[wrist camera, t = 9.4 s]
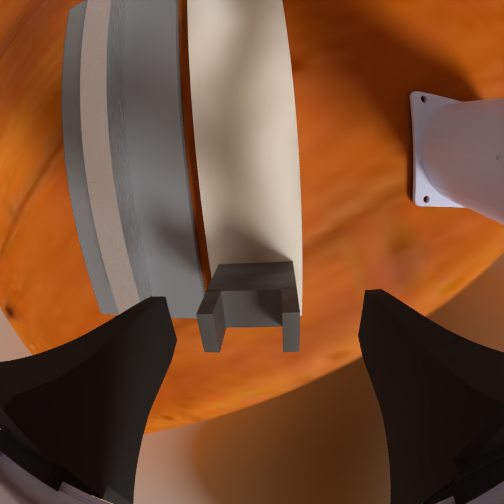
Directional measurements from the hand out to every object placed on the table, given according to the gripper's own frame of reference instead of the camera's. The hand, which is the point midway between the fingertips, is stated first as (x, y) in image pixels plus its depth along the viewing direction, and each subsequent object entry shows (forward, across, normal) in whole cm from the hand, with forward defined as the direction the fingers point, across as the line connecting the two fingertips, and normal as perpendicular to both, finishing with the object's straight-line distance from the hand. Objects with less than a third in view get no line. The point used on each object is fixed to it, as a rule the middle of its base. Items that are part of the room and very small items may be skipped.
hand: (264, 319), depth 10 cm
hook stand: (+9, +1, -8) cm, 12 cm away
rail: (+9, +10, -8) cm, 16 cm away
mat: (+9, +10, -8) cm, 16 cm away
